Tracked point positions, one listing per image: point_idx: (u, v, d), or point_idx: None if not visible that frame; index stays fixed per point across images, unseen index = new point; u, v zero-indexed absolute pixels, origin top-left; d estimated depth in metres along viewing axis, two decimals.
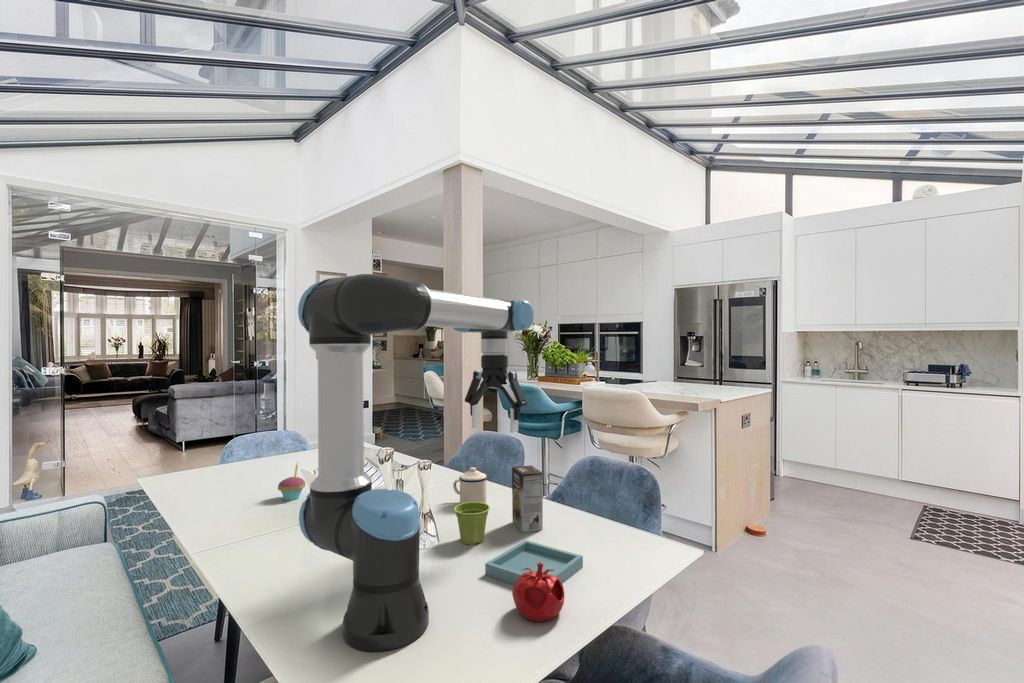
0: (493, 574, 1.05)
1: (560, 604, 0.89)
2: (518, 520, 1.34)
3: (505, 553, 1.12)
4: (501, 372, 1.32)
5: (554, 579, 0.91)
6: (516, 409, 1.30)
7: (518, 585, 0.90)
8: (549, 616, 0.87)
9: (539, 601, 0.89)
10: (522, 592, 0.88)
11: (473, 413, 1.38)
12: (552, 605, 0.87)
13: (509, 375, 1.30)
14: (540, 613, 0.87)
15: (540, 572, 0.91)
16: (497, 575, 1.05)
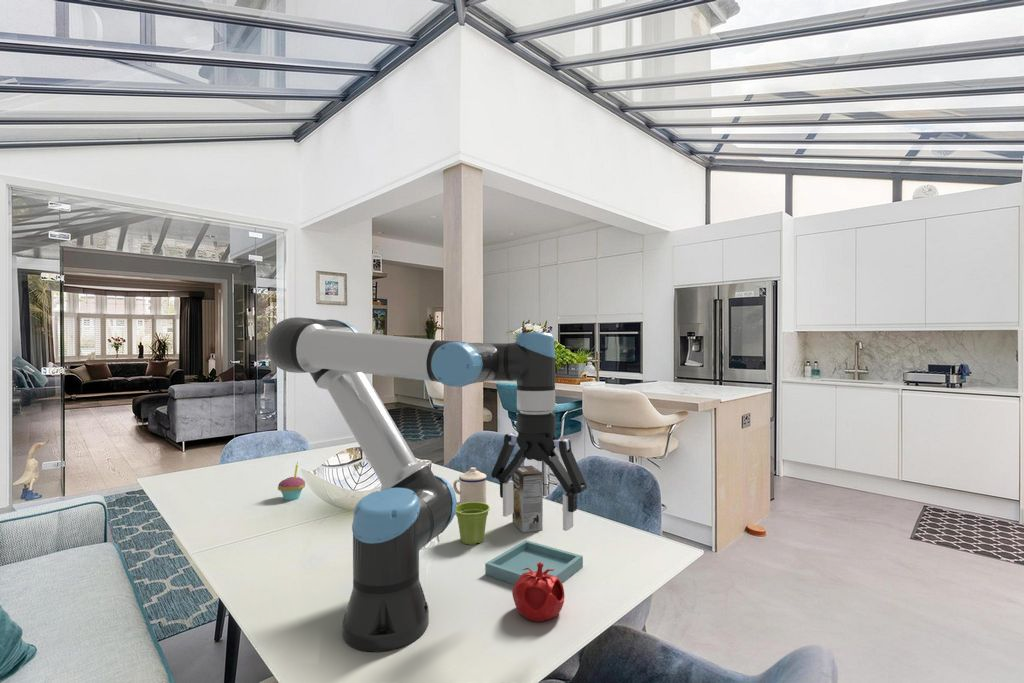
0: (493, 574, 1.05)
1: (560, 604, 0.89)
2: (518, 520, 1.34)
3: (505, 553, 1.12)
4: (548, 439, 0.90)
5: (554, 579, 0.91)
6: (572, 496, 0.88)
7: (518, 585, 0.90)
8: (549, 616, 0.87)
9: (539, 601, 0.89)
10: (522, 592, 0.88)
11: (504, 495, 0.96)
12: (552, 605, 0.87)
13: (561, 445, 0.89)
14: (540, 613, 0.87)
15: (540, 572, 0.91)
16: (497, 575, 1.05)
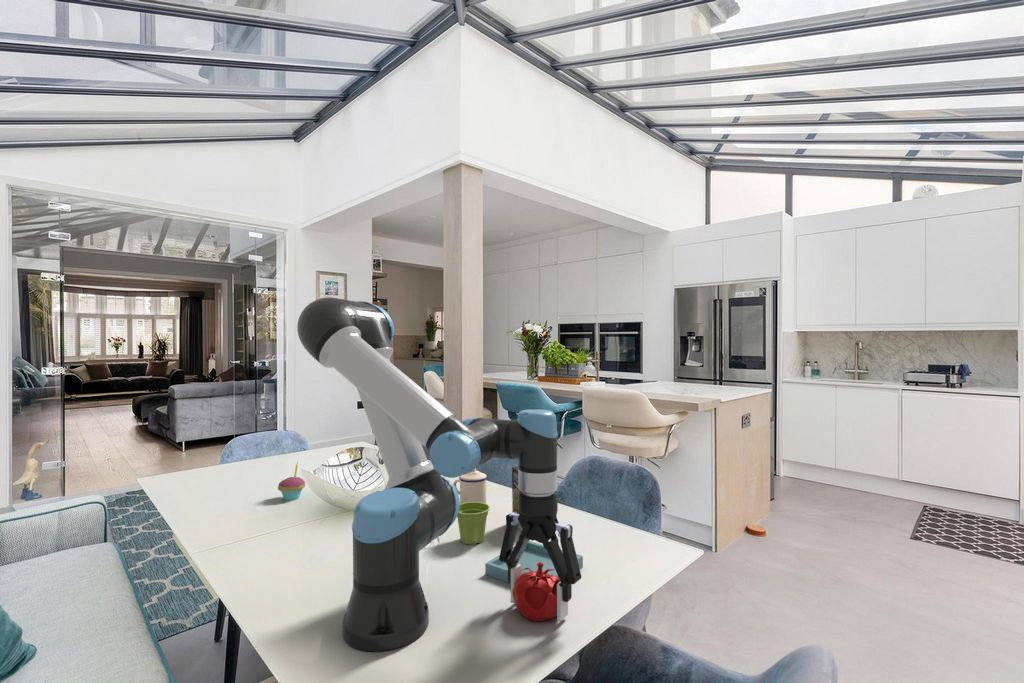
0: (493, 574, 1.05)
1: None
2: None
3: None
4: (549, 522, 0.89)
5: (554, 579, 0.91)
6: (566, 586, 0.87)
7: (518, 585, 0.90)
8: (549, 616, 0.87)
9: (539, 601, 0.89)
10: (522, 592, 0.88)
11: (512, 581, 0.94)
12: (552, 605, 0.87)
13: (562, 533, 0.87)
14: (540, 613, 0.87)
15: (540, 572, 0.91)
16: (497, 575, 1.05)
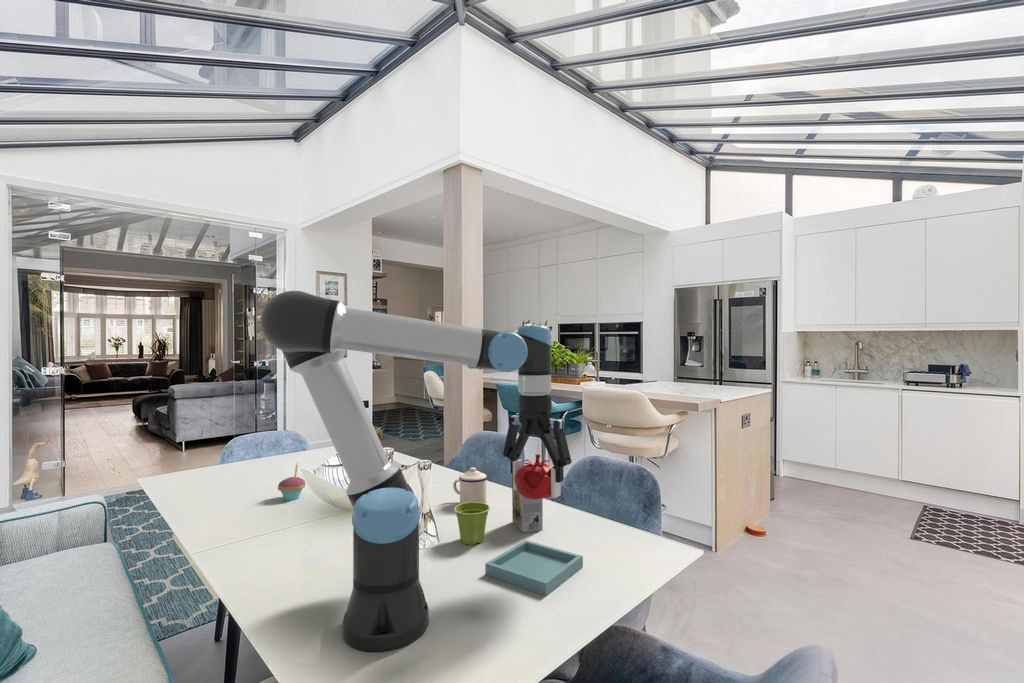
0: (493, 574, 1.05)
1: None
2: (518, 520, 1.34)
3: (505, 553, 1.12)
4: (544, 417, 1.05)
5: (549, 467, 1.07)
6: (558, 469, 1.04)
7: (519, 471, 1.06)
8: (545, 494, 1.04)
9: (536, 483, 1.06)
10: (522, 475, 1.05)
11: (514, 471, 1.10)
12: (547, 485, 1.04)
13: (555, 424, 1.04)
14: (537, 491, 1.03)
15: (537, 461, 1.08)
16: (497, 575, 1.05)
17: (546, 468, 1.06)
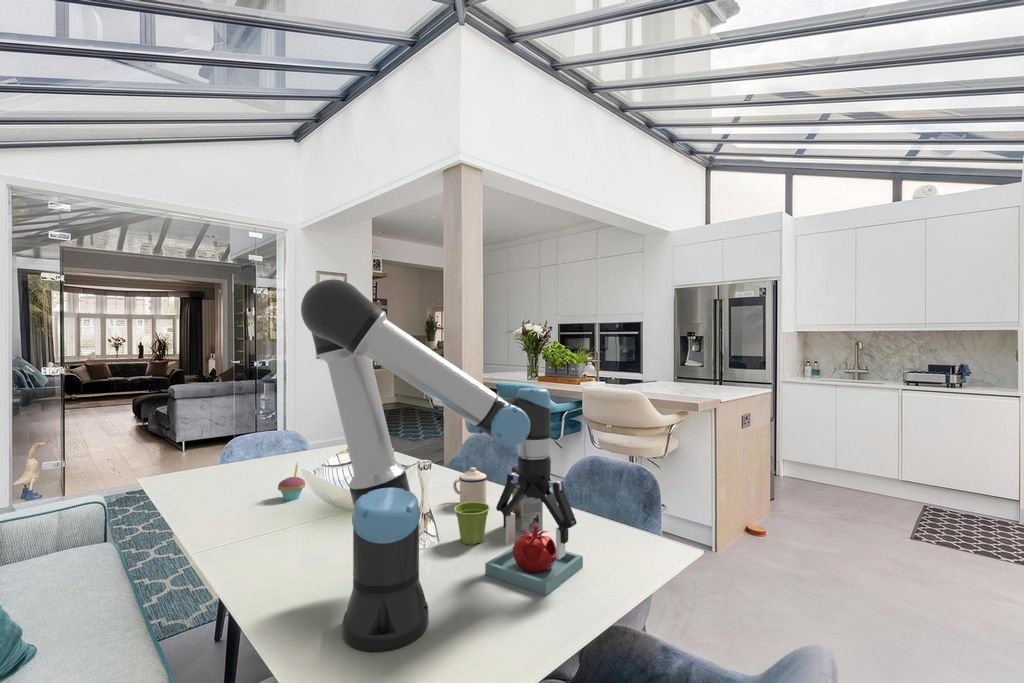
0: (493, 574, 1.05)
1: (552, 559, 1.06)
2: (518, 520, 1.34)
3: (505, 553, 1.12)
4: (544, 481, 1.06)
5: (547, 539, 1.08)
6: (563, 530, 1.04)
7: (517, 543, 1.07)
8: (543, 568, 1.05)
9: (535, 556, 1.06)
10: (521, 548, 1.05)
11: (507, 526, 1.12)
12: (546, 559, 1.04)
13: (554, 486, 1.04)
14: (536, 566, 1.04)
15: (536, 533, 1.09)
16: (497, 575, 1.05)
17: (544, 540, 1.07)
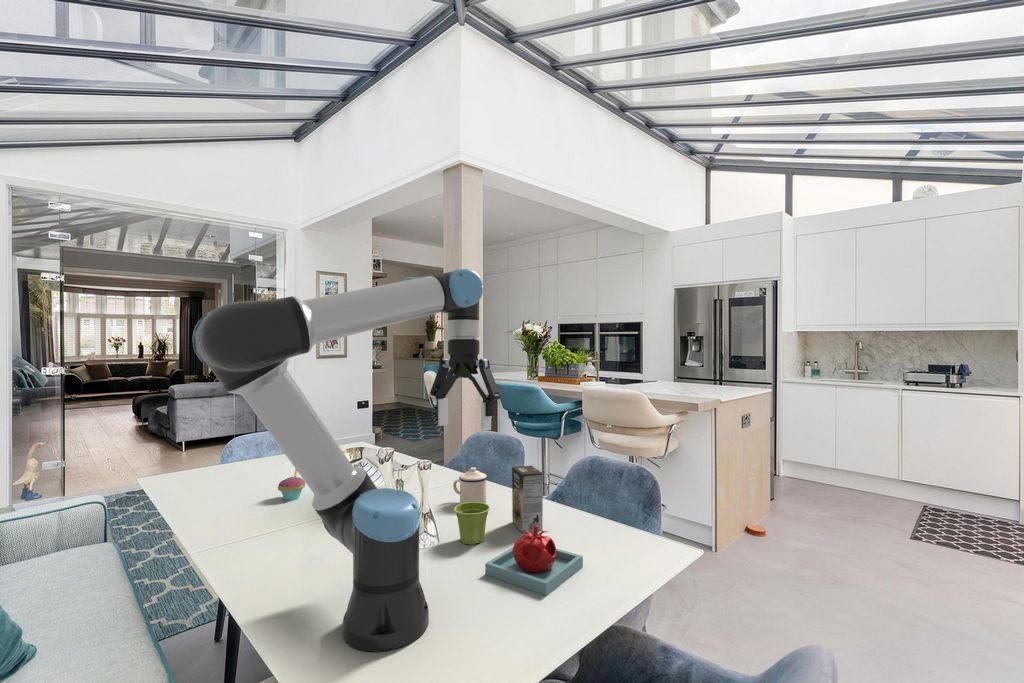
0: (493, 574, 1.05)
1: (552, 559, 1.06)
2: (518, 520, 1.34)
3: (505, 553, 1.12)
4: (471, 359, 1.11)
5: (547, 539, 1.08)
6: (488, 403, 1.09)
7: (517, 543, 1.07)
8: (543, 568, 1.05)
9: (535, 556, 1.06)
10: (521, 549, 1.05)
11: (439, 408, 1.17)
12: (546, 559, 1.04)
13: (480, 363, 1.09)
14: (536, 566, 1.04)
15: (536, 533, 1.09)
16: (497, 575, 1.05)
17: (544, 541, 1.07)
